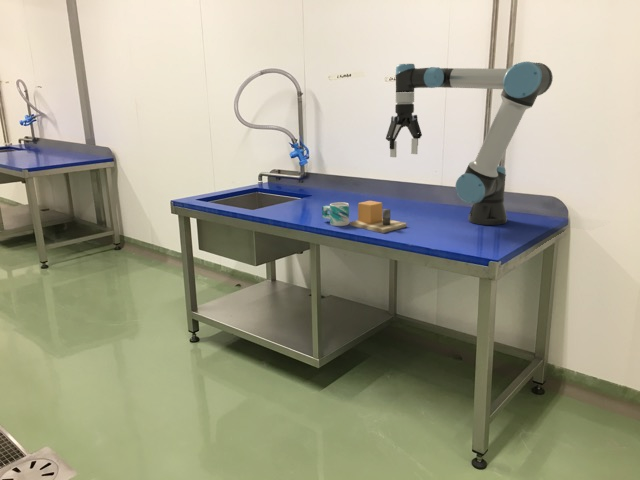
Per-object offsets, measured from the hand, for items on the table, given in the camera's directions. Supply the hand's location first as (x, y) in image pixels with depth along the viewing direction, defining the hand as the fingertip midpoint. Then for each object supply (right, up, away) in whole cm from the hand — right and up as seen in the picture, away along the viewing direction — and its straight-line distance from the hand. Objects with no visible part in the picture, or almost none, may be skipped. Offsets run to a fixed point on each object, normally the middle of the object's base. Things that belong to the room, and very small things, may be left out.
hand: (404, 155), depth 224 cm
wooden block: (-15, -28, -4) cm, 31 cm away
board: (-12, -30, -7) cm, 33 cm away
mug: (-29, -28, +1) cm, 40 cm away
